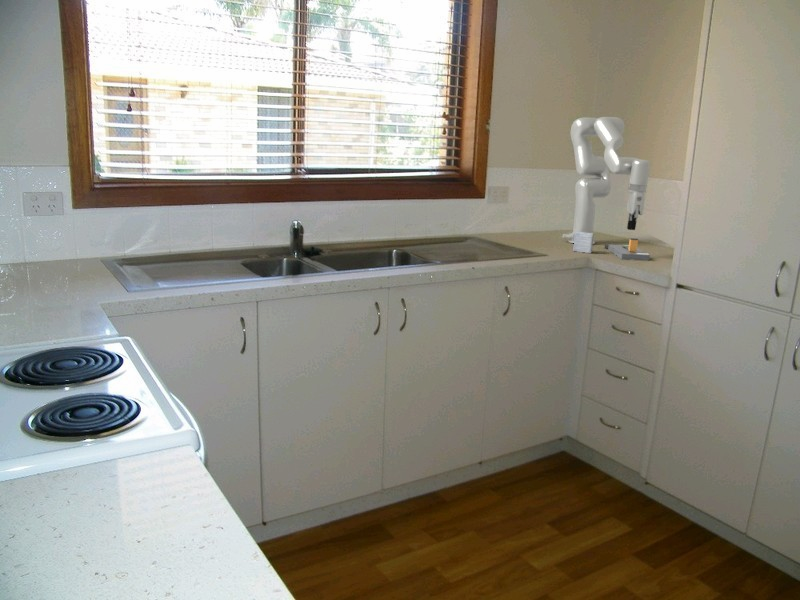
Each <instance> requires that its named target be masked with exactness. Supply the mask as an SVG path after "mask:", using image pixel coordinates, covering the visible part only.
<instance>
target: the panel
mask: <svg viewBox="0 0 800 600" xmlns="http://www.w3.org/2000/svg"><path fill="white" fill-rule="evenodd" d="M608 245H609V246H608V249H607V250H608V251H609V250H610V251H609V252H611V253H612V254H613V253H614V255H615V256H616V255H617V258H619V259H621V260H628V259H634V260H633V261H648V260H649V261H650V257H651V255H650V254H649V253H647V252H646V251H644V250H643V249H640V248H639V247H637V252H635V251H634V253H631V252H630V251H629V250H628V248H629V244H623V245H622V244H608Z"/></svg>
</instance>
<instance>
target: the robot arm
mask: <svg viewBox="0 0 800 600" xmlns="http://www.w3.org/2000/svg"><path fill="white" fill-rule="evenodd" d="M570 127H571V128H570V132H569V133H570V139H571V142H572V147H573V151H574V152H573V153H574V159H575V160H574V163H575V169H576V172H577V174H578V175H579V176H583V178H580V179H578V180H577V181H576V182H575V186H574V188H575V189H574V190H575V191H574V193H575V206H574V217H573V218H574V219H573V224H572V225H573V228H572V232H570V233H569V234H568V233H563V234H562V238H563V239H568V243H571V244H573V243H574V237H575V233H576V232H583V233H593V234H594V226H595V216H596V204H595V201H594V199H598V198H599V199H603V198H606V197H608V196H609V194H610V192H611V187H612V185H611V177H610V172H612V173H613V174H614V175H629V181H628V182H629V183H628V189H627V192H629V194H628V198H627V202H626V203H627V204H626V212H627V213H628V217H627V219H628V220H627V225H626V229H627V230H629V231H636V227H637V220H638V218H639V215H640V216H642V215H644V206H645V194H646V193H647V187H648V182H649V175H650V170H651V161H649V160H647V159H640V158H639V157H627V156H626V157H625V156H623V157H622V156H620V155H618V153H617V151H616V150H618V149H619V148H621V147H622V145H623V144H624V137H623V136H622V134H623V133H624V132H625V128H626V127H625V122H624V120H623V119H622V118H620V117H617V116H602V117H601V116H600V117H580V118H577V119H575V120H574V121H573V123H572V124H571V126H570ZM587 136H589V137H598V138H599V139H600V142H602V143H601V144H603V146H604V152H603V155H604V156H601V155H600V156H599V155H594V152H593V146H592V143H591V142H590V140H589V139H588V138H587ZM595 244H596V241H595V240H593V245H595Z"/></svg>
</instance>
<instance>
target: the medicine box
mask: <svg viewBox="0 0 800 600" xmlns="http://www.w3.org/2000/svg"><path fill="white" fill-rule="evenodd" d="M594 236H595V235H594V232H593V233H583V232H576V233H575V237H574V244H573V246H572V247H573V248H572V252H573V251H577V252H576V253H582V252H585V254H592V252H593V245H594V244H593V241H594Z"/></svg>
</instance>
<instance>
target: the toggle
mask: <svg viewBox="0 0 800 600" xmlns="http://www.w3.org/2000/svg"><path fill="white" fill-rule="evenodd" d="M628 242H629V243H628V245H629V248H628V250H629V251H630V252H631V253H634V251H635V252H637V248H638V242H639V239H638V238H637V237H629V241H628Z"/></svg>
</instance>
